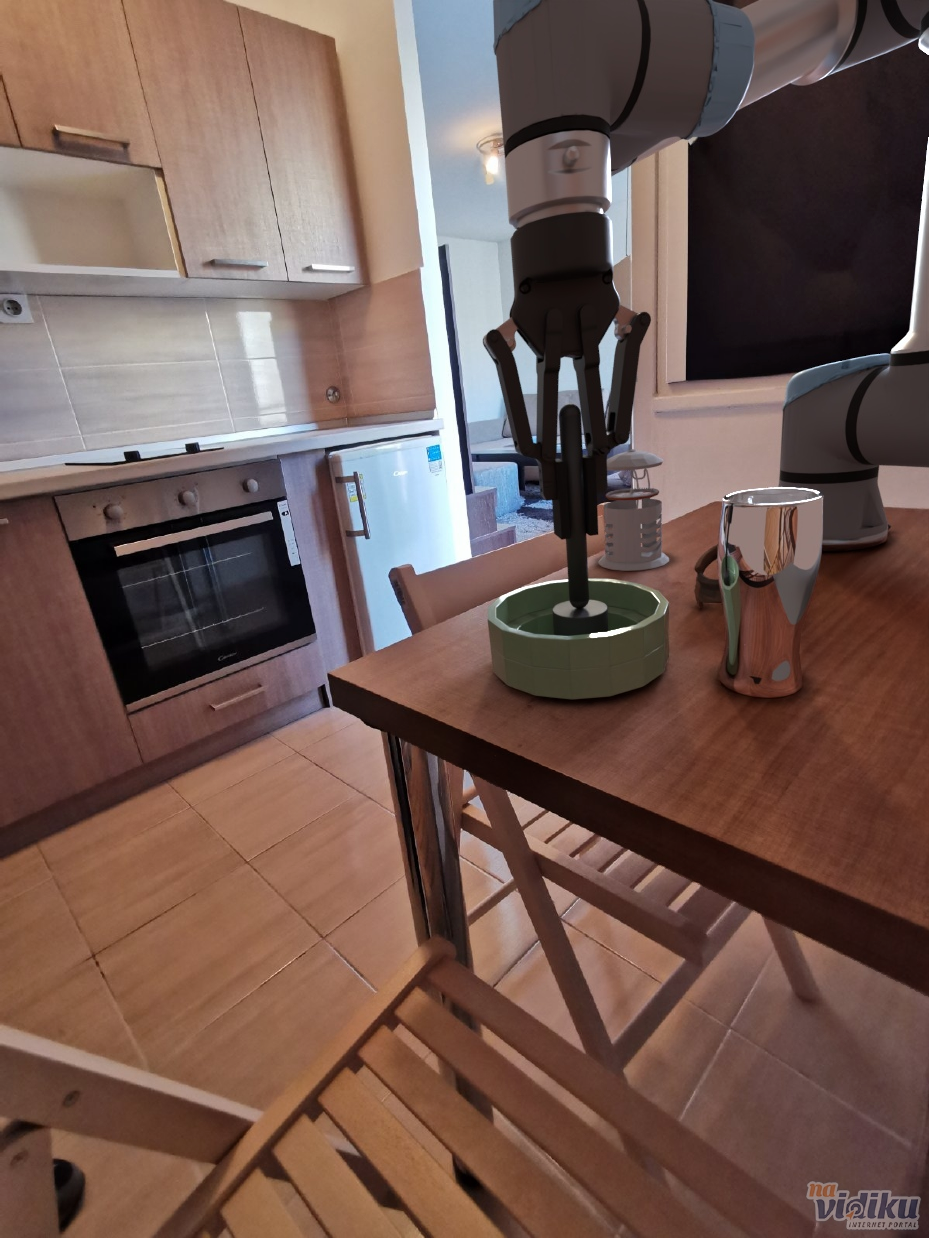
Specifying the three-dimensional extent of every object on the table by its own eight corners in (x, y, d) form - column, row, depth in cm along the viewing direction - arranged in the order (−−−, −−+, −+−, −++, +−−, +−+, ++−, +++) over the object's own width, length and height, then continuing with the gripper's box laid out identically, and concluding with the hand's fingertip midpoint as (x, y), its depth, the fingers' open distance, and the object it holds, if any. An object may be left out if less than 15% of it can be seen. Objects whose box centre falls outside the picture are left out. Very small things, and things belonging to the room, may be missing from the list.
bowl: (676, 638, 57) (677, 579, 55) (653, 717, 44) (652, 645, 42) (525, 629, 64) (521, 577, 62) (467, 696, 51) (458, 632, 49)
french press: (589, 569, 83) (580, 378, 74) (612, 548, 92) (607, 376, 83) (661, 571, 78) (661, 368, 69) (678, 549, 87) (679, 367, 79)
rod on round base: (613, 624, 56) (606, 398, 49) (601, 645, 52) (592, 401, 45) (562, 622, 58) (548, 405, 51) (547, 641, 54) (530, 408, 47)
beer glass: (733, 655, 52) (742, 486, 47) (821, 674, 48) (840, 487, 42) (698, 686, 48) (702, 503, 43) (790, 710, 43) (807, 506, 38)
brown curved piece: (818, 618, 59) (792, 558, 55) (726, 657, 63) (696, 603, 59) (771, 558, 69) (747, 504, 65) (694, 595, 72) (666, 546, 69)
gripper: (466, 218, 40) (499, 555, 48) (678, 195, 41) (675, 531, 49) (457, 247, 47) (487, 536, 55) (638, 227, 48) (641, 515, 56)
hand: (575, 533), depth 52 cm, fingers closed on rod on round base, 2 cm apart
